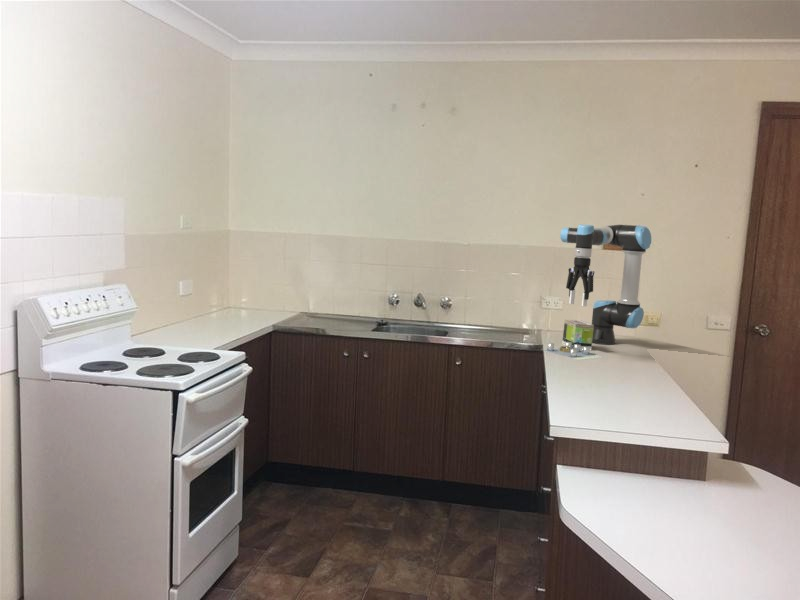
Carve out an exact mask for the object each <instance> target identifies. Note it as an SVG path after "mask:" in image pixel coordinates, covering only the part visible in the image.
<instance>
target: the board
mask: <svg viewBox="0 0 800 600" xmlns="http://www.w3.org/2000/svg"><path fill="white" fill-rule="evenodd" d="M543 352H547V353H552V354H556V355H559V356H563V357H567V358H570V359H574V360H577V361H581V360H590V359H598V358H602V356H601V355H598V354H597V355H596V354H593V353H590V352H589V355H585V354H582V353H583V350H580V352H577V357H570V352H561V351H560V348H554V351H547V349H544V350H543Z"/></svg>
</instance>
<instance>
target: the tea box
mask: <svg viewBox="0 0 800 600" xmlns="http://www.w3.org/2000/svg"><path fill="white" fill-rule="evenodd" d="M593 330H594V325H593V324H592V323H589V322H587V321H585V320H579V319H578V320H577V319H564V325H563V334H562V341H561V344H562V345H563V346H565V342H571V343H572V348H571V349H574V344H580V345H581V349H580V351H583V346H588V347H590V351H592V348H593V347H592V345H593V343H592V338H593Z"/></svg>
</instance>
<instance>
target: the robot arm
mask: <svg viewBox="0 0 800 600" xmlns="http://www.w3.org/2000/svg"><path fill="white" fill-rule="evenodd" d="M559 238H560V240H561V242H562V243H566V244H575V249H574V250H575V251H574V256H575V257H574V259H573V265H574V266H573V267H572V268H571V267H568V269H567V270H568V275H567V280H566V281H567V282H566V284H565V285H566V286H565V288H566V289H568V297H569V301H568V302H569V305H574V304H575V299H576V286H577V284H578V282H579V281H578V280H579V279H580V278H581V279H582V285H583V290H584V291H583V293H582V298H581V299H582V300H581V307H587V306H588V300H589V297H590V293H593V292H594V276H595V271H593V270H591V269H590V267H591V261H592V260H591V257H592V251H593V250H592V249H593V246H602V245H610V246H614V247H620V248H622V249H621V251H622V252H623V253H624V260H623V261H624V262H623V269H622V270H623V271H622V280H621V288H620V289H621V290H620V298H619V299H618V300H617V301H616V300H596V301H594V303H593V307H592V315H591V317H592V318H591V324H593V325H594V330H593V338H592V344H598V345H615V344H616V338H615V332H614V326H616V327H623V328H626V329H637V328H638V327H640V325H641V323H642V322H643V319H644V313H645V312H644V309H643V307H641V303H640V301H639V300H638V299H639V290H640V278H641V269H642V259H643V256H644V254H645V253H646V250H648V249H650V247H651V244H652V234H651V230H650V229H649V228H648V227H647V226H643V225H632V224H631V225H628V224H614V225H613V224H612V225H603V226H601V227H595V226H594V225H591V224H579V225H578V226H577V227H562V229H561V230H560V236H559Z"/></svg>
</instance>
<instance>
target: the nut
mask: <svg viewBox="0 0 800 600" xmlns="http://www.w3.org/2000/svg"><path fill="white" fill-rule="evenodd" d="M559 349H560V351H561V352H570V347H565V346H564V345H563V346H560V347H559Z"/></svg>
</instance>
